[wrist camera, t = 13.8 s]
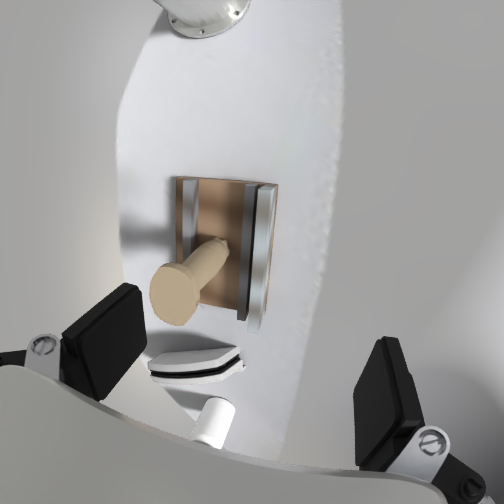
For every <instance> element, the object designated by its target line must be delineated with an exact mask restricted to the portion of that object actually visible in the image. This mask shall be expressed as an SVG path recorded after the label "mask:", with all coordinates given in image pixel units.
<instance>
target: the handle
mask: <svg viewBox="0 0 504 504" xmlns="http://www.w3.org/2000/svg"><path fill="white" fill-rule="evenodd" d="M229 254H230V249H229V247H228V244H227V240H225V239H224V240H223V239H220V238H219V237H216V238H213V239H212V240H211V241H208V242H206V243H204V244H203V245H201V246H200V247H198V248H197V249H196V250H195V251H194V252H193V253H192V254H191V255H190V256H189V257H188V258H187V259H186V260H185V261H184V262H183V264H182V265H181V264H178V263H166V264H164V265H162V266H161V267H160V268H159V269H158V270H157V271H156V273H155V274H154V276H153V277H152V279H151V283H150V293H149V295H150V302H151V305H152V308H153V310H154V313H155V314H156V315H157V317H159V318H160V319H161V320H163V321H164V322H166V323H168V324H171V325H175V326H183V325H184V324H185V323H186V322H187V321H188V320H189V319H190V318H191V316H192V315H193V314H194V312H195V311H196V309H197V306H198V303H199V300H200V290H201V289H202V288H203V287H204V286H205V285H206V284H207V283H208V282H209V281H210V280H211V279H212V278H213V277H214V276H215V275H216V274H217V273H218V272H219V270H220V269H221V268H222V266H223V264H224V263H225V261H226V259H227V257H228V256H229Z"/></svg>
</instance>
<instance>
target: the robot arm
mask: <svg viewBox="0 0 504 504" xmlns="http://www.w3.org/2000/svg"><path fill="white" fill-rule="evenodd" d="M153 1H155V2H156V3H157V4H159V5H160V6H162V7H163V8H164V9H166V10H167V11H168V20H169V22H170V25H171V26H172V27H173V28H174V29H175V30H176V31H177V32H179V33H180V34H182V35H184V36H188V37H192V38H206V37H210V36H214V35H217V34H220V33H222V32H224V31H226V30H228V29H230V28H231V27H233V26H234V25H235V24H237V23H238V22H239V21H240V20H241V19H242V17H243V16H244V15H245V13H246V12H247V10H248V8H249V4H250V0H153ZM203 32H204V33H203ZM62 337H63V338H62V339H61V340H59V338H58V337H56V336H55V335H52V334H41V335H38V336H36V337H35V338H33V339H32V340H31V341H30V342H29V345H28V347H27V350H21V351H12V352H3V353H0V504H495V503H494V502H493V500H492V499H491V498H490V496H488V497H487V498H486V497H485V496H484V494H485V492H486V485H485V481H484V480H483V478H482V477H481V476H480V475H479V474H478V473H476V472H475V471H473V470H472V469H471V468H469V467H468V466H466V465H465V464H464V463H462V462H461V461H459V460H458V459H457V458H455V457H454V456H452V455H451V454H450V453H449V450H450V440H449V438H448V436H447V434H446V433H445V432H444V431H443V430H442V429H440V428H438V427H436V426H425V422H424V418H423V414H422V410H421V406H420V403H419V399H418V395H417V392H416V388H415V384H414V381H413V378H412V375H411V374H410V373H409V371H408V368H407V365H406V362H405V359H404V355H403V352H402V349H401V346H400V343H399V340H398V338H394V337H386V336H384V337H382V338H381V340H380V339H378V340H377V341H376V343H375V345H374V348H373V350H372V352H371V355H370V357H369V359H368V361H367V364H366V366H365V368H364V370H363V372H362V374H361V376H360V378H359V380H358V382H357V384H356V386H355V389H354V393H353V400H354V422H355V463H356V466H359V471H357V470H340V469H328V468H319V467H309V466H301V465H294V464H288V463H281V462H275V461H270V460H264V459H259V458H255V457H250V456H245V455H241V454H237V453H233V452H229V451H225V450H221V449H218V448H214V447H210V446H207V445H204V444H200V443H197V442H194V441H191V440H188V439H185V438H182V437H179V436H176V435H173V434H170V433H168V432H165V431H162V430H160V429H157V428H155V427H152V426H149V425H147V424H145V423H142V422H140V421H137V420H135V419H133V418H131V417H128V416H126V415H124V414H122V413H120V412H117V411H115V410H113V409H111V408H109V407H107V406H105V405H103V404H101V403H99V401H100V400H104V399H105V398H106V397H107V395H108V394H109V393H110V392H111V390H112V389H113V388H114V387H115V385H116V384H117V383H118V382H119V380H120V379H121V378H122V377H123V375H124V374H125V373H126V372H127V370H128V369H129V368H130V367H131V365H132V364H133V363H134V362H135V360H136V359H137V358H138V357H139V355H140V354H141V353H142V352H143V350H144V349H145V348H146V345H147V337H146V329H145V321H144V312H143V302H142V292H141V291H140V290H139V288H138V286H136V285H132V284H129V283H123V284H122V285H120V286H119V287H118V288H117V289H115V290H114V291H113V292H111V293H110V294H109V295H108V296H106V297H105V298H104V299H103V300H101V301H100V302H99V303H98V304H96V305H95V306H94V307H93V308H91V309H90V310H89V311H88V312H87V313H85V314H84V315H83V316H82V317H81V318H79V319H78V320H77V321H76V322H74V324H72V325H71V326H70V327H68V328H67V330H65V331H64V332H63V333H62Z"/></svg>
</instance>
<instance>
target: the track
mask: <svg viewBox="0 0 504 504" xmlns="http://www.w3.org/2000/svg"><path fill="white" fill-rule="evenodd" d="M277 193H278V184H270V183H260V182H249V181H238V180H226V179H212V178H196V177H177V178H176V263H178V264H181V265H182V264H183V262H184V261H185V260H186V259H187V258H188V257H189V256H190V255H191V254H192V253H193V252H194V251H195V250H196V249H197V248H198V247H200V246H201V245H203V244H204V243H206V242H208V241H211V240H212V239H213V238H216V237H219V238H220V239H223V240H224V239H225V240H227V244H228V247H229V249H230V254H229V256H228V257H227V259H226V261H225V263H224V264H223V266H222V268H221V269H220V270H219V272H218V273H217V274H216V275H215V276H214V277H213V278H212V279H211V280H210V281H209V282H208V283H207V284H206V285H205V286H204V287H203V288H202V289H201V290H200V300H199V303H203V304H208V305H213V306H218V307H223V308H228V309H233V310H237V320H241V321H245V320H246V318H247V316H248V313H249V316H248V329H247V332H249V333H254V334H258V331H259V328H260V325H261V322H262V319H263V316H264V313H265V311H266V303H267V294H268V285H269V275H270V265H271V256H272V246H273V236H274V225H275V215H276V204H277Z"/></svg>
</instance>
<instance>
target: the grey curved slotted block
mask: <svg viewBox="0 0 504 504" xmlns="http://www.w3.org/2000/svg"><path fill="white" fill-rule="evenodd" d="M239 353H240V350H239V348H238V347H237V346H236V347H227V348H217V349H207V350H195V351H182V352H166V353H162V354H160V355H158V356H157V357H155V358H154V359H152V360H150V361H149V362H148V369H150V371H152V372H151V375H150V376H151V378H152V380H153V381H154V382H157V383H162V384H170V385H193V384H204V383H211V382H217V381H222V380H224V379H225V378H227V377H228V376H229V375H231V374H232V373H233V372H239V371H243V370H244V369H245V368H246V366H243V362H242V359H240V358H236V357H237V356H238V355H239Z"/></svg>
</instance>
